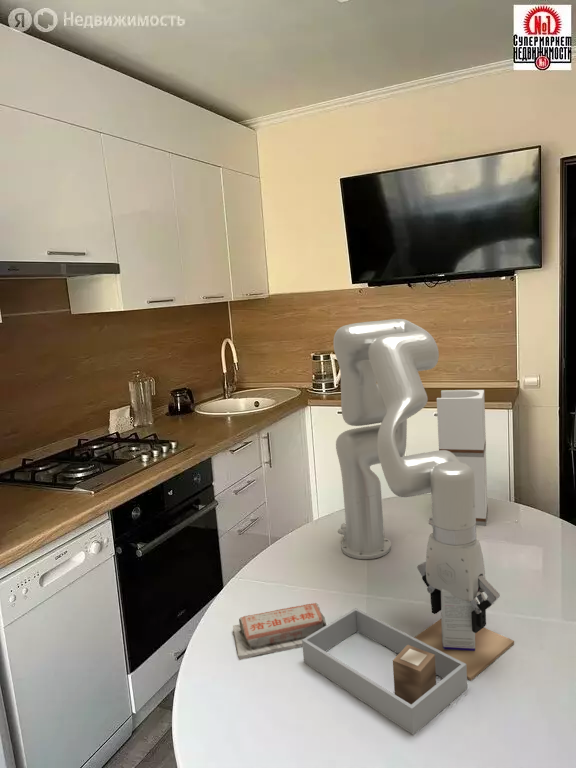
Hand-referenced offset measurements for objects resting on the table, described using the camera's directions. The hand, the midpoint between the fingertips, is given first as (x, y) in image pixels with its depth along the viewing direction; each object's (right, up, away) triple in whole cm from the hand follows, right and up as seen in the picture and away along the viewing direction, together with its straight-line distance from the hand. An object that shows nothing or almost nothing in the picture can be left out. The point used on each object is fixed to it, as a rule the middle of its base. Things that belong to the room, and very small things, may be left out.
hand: (457, 619), depth 109 cm
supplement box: (0, -5, +1) cm, 5 cm away
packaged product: (-33, -7, +9) cm, 35 cm away
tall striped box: (+18, +6, +56) cm, 59 cm away
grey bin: (-15, -8, -5) cm, 18 cm away
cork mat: (+1, -5, +1) cm, 5 cm away
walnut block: (-10, -8, -11) cm, 17 cm away
